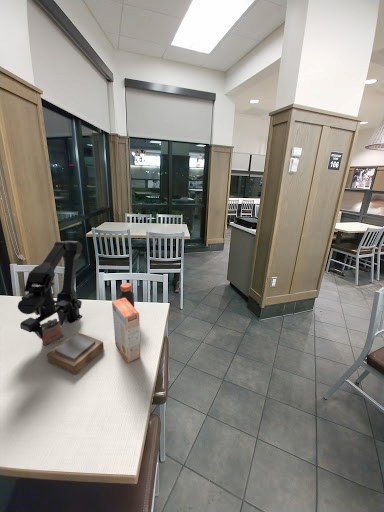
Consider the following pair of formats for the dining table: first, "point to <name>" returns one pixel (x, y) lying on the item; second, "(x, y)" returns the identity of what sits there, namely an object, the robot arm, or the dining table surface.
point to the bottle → (127, 293)
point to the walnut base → (75, 352)
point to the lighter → (51, 332)
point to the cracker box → (126, 329)
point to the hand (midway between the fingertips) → (51, 331)
